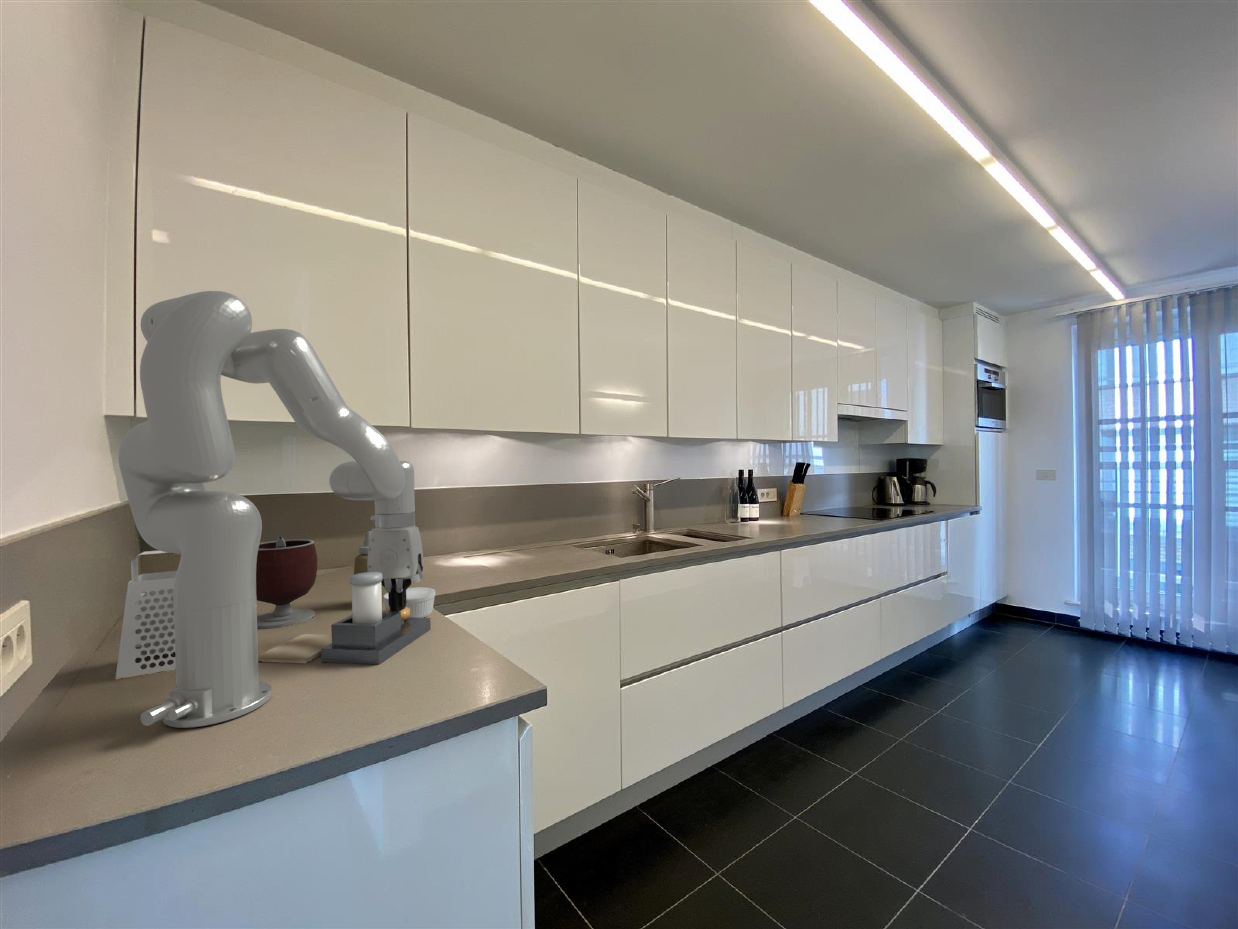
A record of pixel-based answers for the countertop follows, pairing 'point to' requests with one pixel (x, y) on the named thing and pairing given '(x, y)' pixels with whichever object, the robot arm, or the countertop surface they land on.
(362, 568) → the squeeze bottle
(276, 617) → the mate gourd
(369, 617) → the cylinder
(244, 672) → the robot arm
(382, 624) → the housing
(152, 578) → the grater
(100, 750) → the countertop surface
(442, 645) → the countertop surface
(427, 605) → the ramekin
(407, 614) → the orange rounded lump
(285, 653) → the mat
